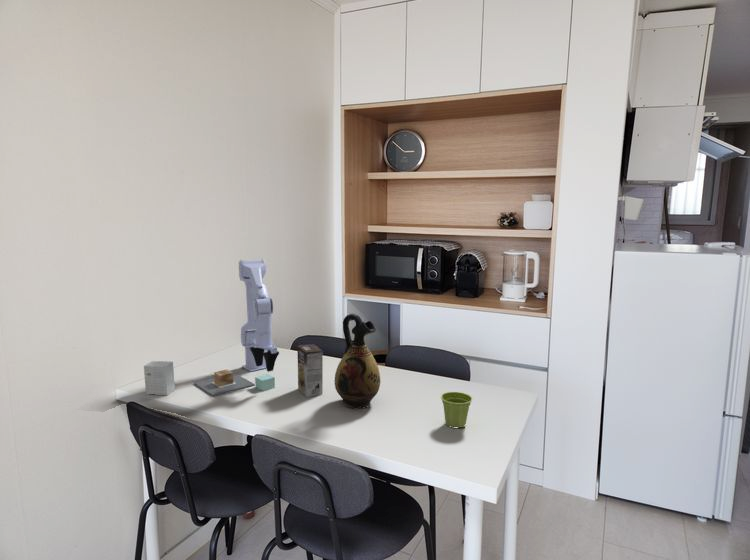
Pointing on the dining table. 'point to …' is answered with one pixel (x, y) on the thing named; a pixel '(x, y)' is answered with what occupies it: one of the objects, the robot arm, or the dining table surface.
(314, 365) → the coffee box
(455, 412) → the plant pot
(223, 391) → the baseplate
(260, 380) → the brick teal
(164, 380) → the small box
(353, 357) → the ceramic jug
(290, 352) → the dining table surface
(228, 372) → the brick walnut
